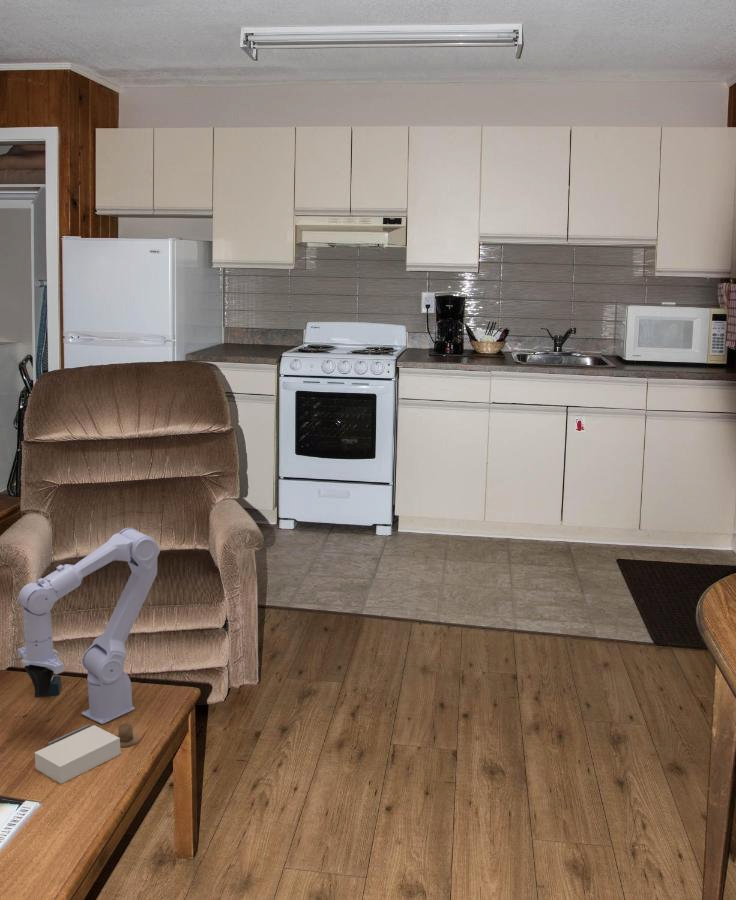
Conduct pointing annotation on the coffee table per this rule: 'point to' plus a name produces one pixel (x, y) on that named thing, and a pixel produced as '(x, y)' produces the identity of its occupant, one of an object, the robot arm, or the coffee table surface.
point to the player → (77, 754)
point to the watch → (53, 684)
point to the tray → (69, 734)
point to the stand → (127, 736)
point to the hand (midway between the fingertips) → (42, 694)
